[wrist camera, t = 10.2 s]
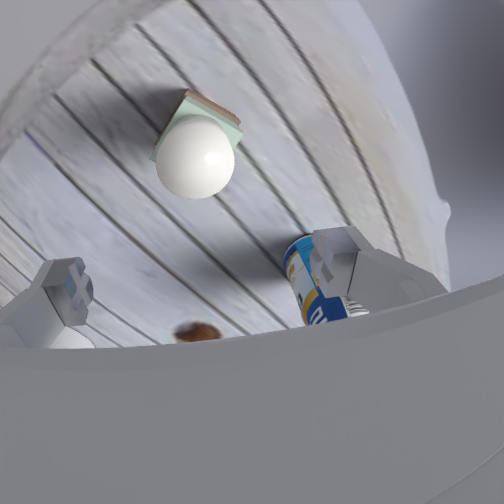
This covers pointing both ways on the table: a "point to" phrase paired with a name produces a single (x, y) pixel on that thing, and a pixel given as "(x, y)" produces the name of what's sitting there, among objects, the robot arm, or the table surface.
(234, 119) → the tower base
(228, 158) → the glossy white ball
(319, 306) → the beverage bottle
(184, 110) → the tower top
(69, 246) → the table surface
